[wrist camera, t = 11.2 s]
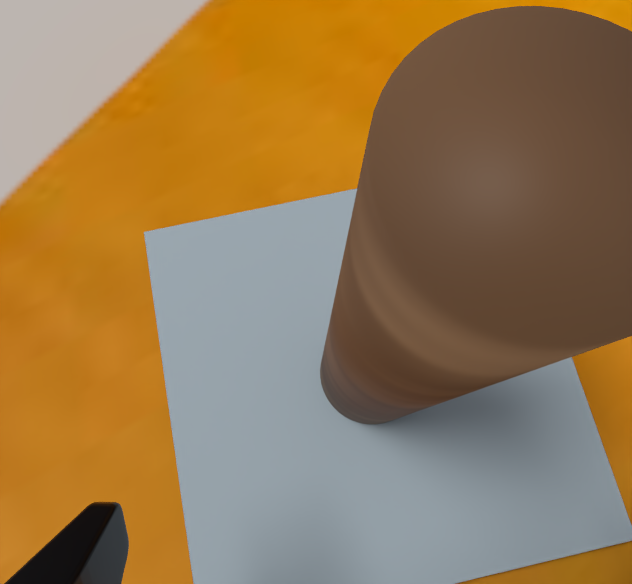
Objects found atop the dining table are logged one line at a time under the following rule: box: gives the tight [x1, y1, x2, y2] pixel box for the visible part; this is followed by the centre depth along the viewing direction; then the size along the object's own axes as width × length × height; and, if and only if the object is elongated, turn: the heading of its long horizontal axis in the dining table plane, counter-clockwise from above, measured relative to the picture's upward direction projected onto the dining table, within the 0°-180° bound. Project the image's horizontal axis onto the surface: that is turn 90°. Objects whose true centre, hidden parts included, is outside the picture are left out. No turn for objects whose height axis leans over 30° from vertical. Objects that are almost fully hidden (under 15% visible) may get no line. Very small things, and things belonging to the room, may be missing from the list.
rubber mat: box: [144, 189, 632, 584], centre depth 18 cm, size 12×12×1 cm
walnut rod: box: [320, 6, 632, 424], centre depth 11 cm, size 3×3×13 cm
